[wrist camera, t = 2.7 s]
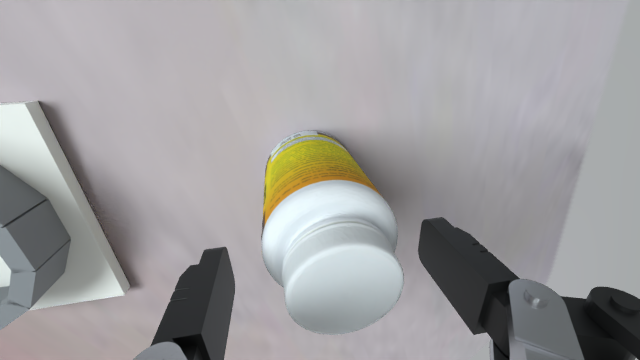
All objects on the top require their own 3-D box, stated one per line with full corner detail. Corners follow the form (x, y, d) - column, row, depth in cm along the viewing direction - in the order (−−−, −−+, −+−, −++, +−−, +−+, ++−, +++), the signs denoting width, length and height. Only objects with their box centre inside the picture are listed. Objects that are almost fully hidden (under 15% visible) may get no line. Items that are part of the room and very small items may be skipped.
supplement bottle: (249, 150, 16) (220, 272, 7) (331, 113, 16) (408, 189, 7) (287, 218, 19) (302, 371, 10) (359, 186, 19) (442, 312, 10)
